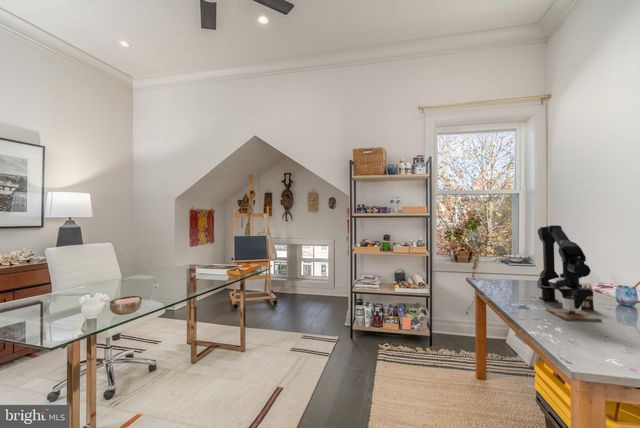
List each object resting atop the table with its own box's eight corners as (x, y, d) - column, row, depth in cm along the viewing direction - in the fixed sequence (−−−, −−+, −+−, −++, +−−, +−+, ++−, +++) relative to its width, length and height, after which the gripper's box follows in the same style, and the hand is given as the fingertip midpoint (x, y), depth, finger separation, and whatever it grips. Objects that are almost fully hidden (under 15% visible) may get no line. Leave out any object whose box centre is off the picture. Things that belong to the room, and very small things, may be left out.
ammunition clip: (565, 307, 146) (564, 283, 146) (564, 306, 148) (563, 282, 148) (594, 310, 140) (593, 285, 140) (593, 309, 141) (592, 284, 142)
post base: (546, 310, 142) (545, 298, 142) (579, 311, 139) (578, 299, 139) (564, 320, 128) (564, 307, 128) (601, 321, 126) (601, 308, 126)
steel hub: (559, 306, 138) (559, 296, 138) (574, 307, 136) (574, 296, 136) (568, 311, 131) (568, 299, 131) (584, 311, 130) (584, 300, 130)
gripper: (539, 268, 145) (540, 300, 144) (564, 276, 126) (565, 312, 126) (565, 268, 143) (566, 300, 142) (593, 276, 124) (594, 313, 124)
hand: (571, 306), depth 134 cm, fingers closed on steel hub, 6 cm apart
